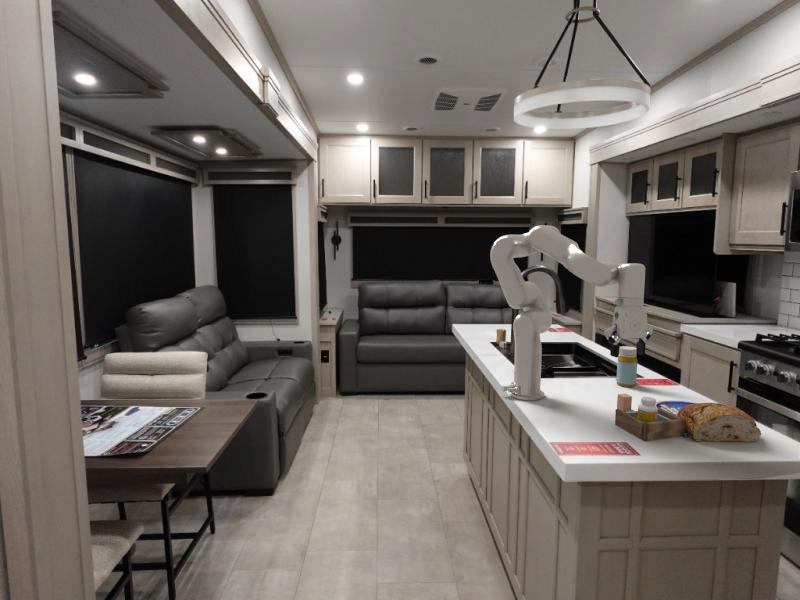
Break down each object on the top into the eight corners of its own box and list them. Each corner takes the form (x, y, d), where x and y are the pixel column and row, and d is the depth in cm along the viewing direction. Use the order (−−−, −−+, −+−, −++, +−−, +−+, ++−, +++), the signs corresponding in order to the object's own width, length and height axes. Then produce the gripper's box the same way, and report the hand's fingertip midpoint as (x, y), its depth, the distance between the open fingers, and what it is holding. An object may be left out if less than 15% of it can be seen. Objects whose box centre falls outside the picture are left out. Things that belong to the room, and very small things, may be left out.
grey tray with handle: (644, 437, 143) (645, 414, 142) (605, 416, 160) (606, 395, 159) (675, 433, 146) (677, 410, 145) (634, 413, 163) (636, 392, 162)
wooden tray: (644, 441, 141) (645, 424, 141) (614, 424, 154) (615, 409, 153) (684, 436, 145) (686, 420, 144) (653, 420, 157) (654, 405, 156)
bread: (690, 443, 141) (693, 409, 139) (666, 419, 158) (668, 389, 157) (769, 447, 138) (772, 412, 136) (735, 422, 156) (737, 392, 154)
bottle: (639, 385, 193) (641, 348, 191) (629, 388, 189) (631, 350, 187) (622, 381, 199) (624, 345, 197) (612, 384, 195) (614, 347, 193)
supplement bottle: (634, 429, 150) (636, 398, 149) (640, 424, 154) (642, 394, 153) (653, 434, 146) (655, 402, 145) (658, 429, 150) (660, 398, 149)
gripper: (614, 305, 150) (611, 360, 152) (662, 303, 154) (659, 356, 156) (598, 302, 157) (596, 354, 159) (645, 300, 161) (642, 351, 163)
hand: (627, 355), depth 158 cm, fingers open, 9 cm apart
